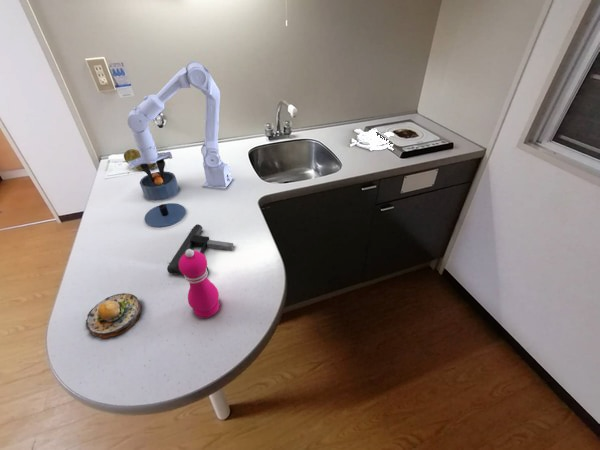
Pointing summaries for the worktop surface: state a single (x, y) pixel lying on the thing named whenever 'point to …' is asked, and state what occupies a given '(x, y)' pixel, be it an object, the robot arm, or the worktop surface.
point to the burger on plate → (113, 315)
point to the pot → (161, 191)
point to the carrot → (157, 179)
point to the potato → (134, 155)
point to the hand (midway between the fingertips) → (157, 179)
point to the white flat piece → (371, 140)
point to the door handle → (195, 241)
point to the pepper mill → (199, 284)
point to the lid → (165, 215)
